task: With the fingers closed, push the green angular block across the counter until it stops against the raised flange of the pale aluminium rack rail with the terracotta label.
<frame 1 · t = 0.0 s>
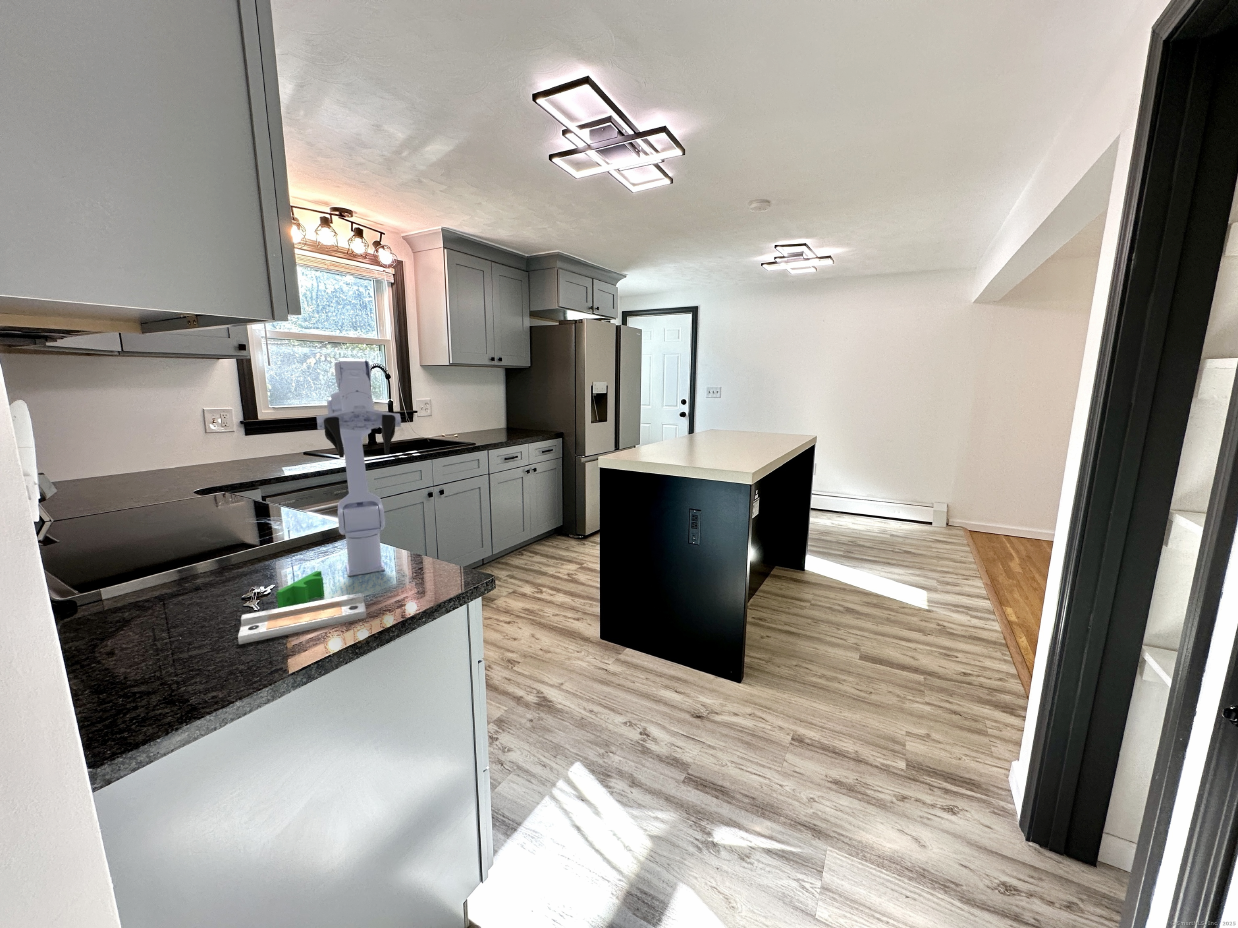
hand: (364, 452, 94), 32 cm above the countertop, tool tilted 50°, fingers open, 7 cm apart
rack rail: (306, 617, 98), on the countertop
green angular block: (306, 602, 105), on the countertop
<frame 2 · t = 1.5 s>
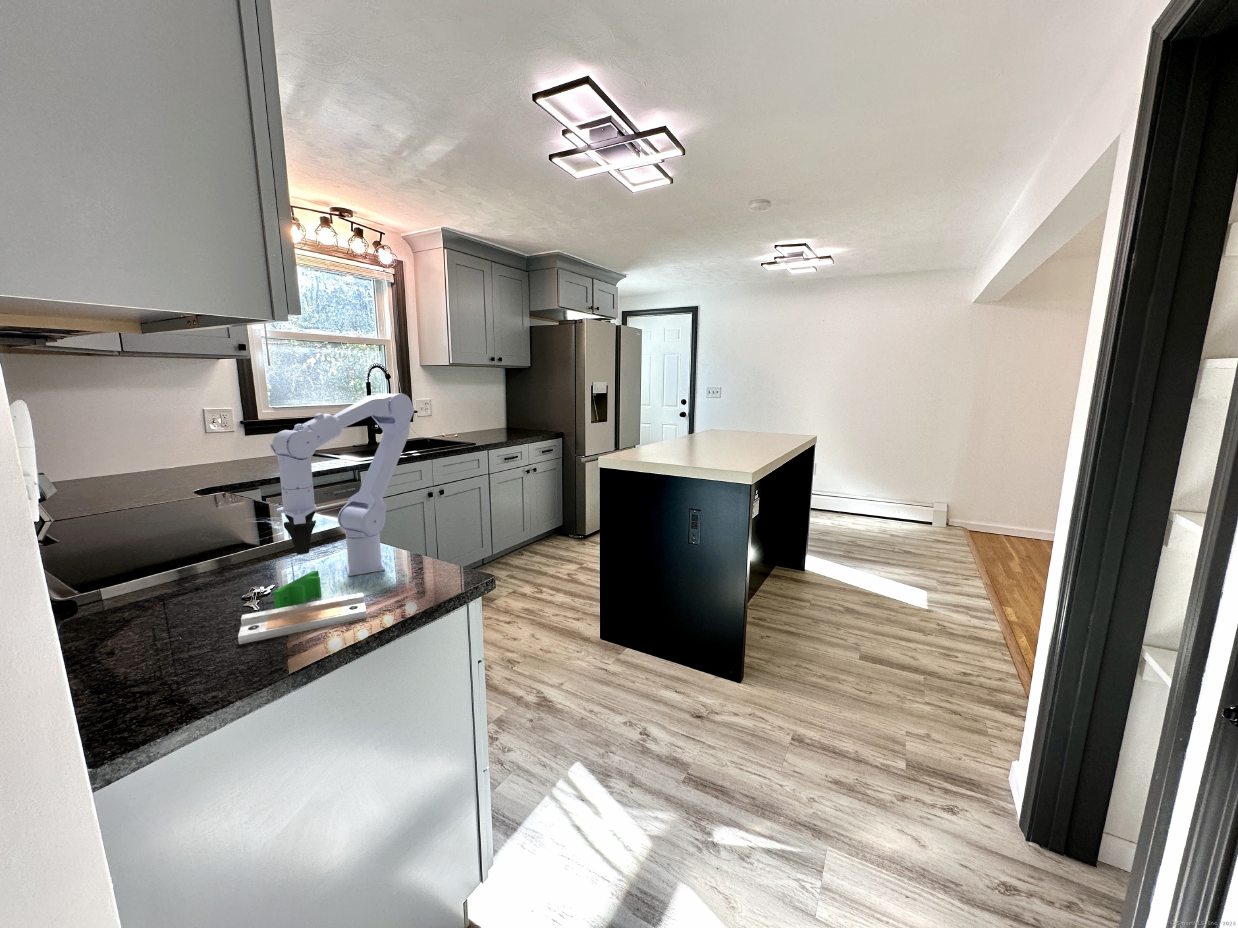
hand: (303, 548, 109), 10 cm above the countertop, tool pointing down, fingers open, 7 cm apart
nothing on the countertop moved.
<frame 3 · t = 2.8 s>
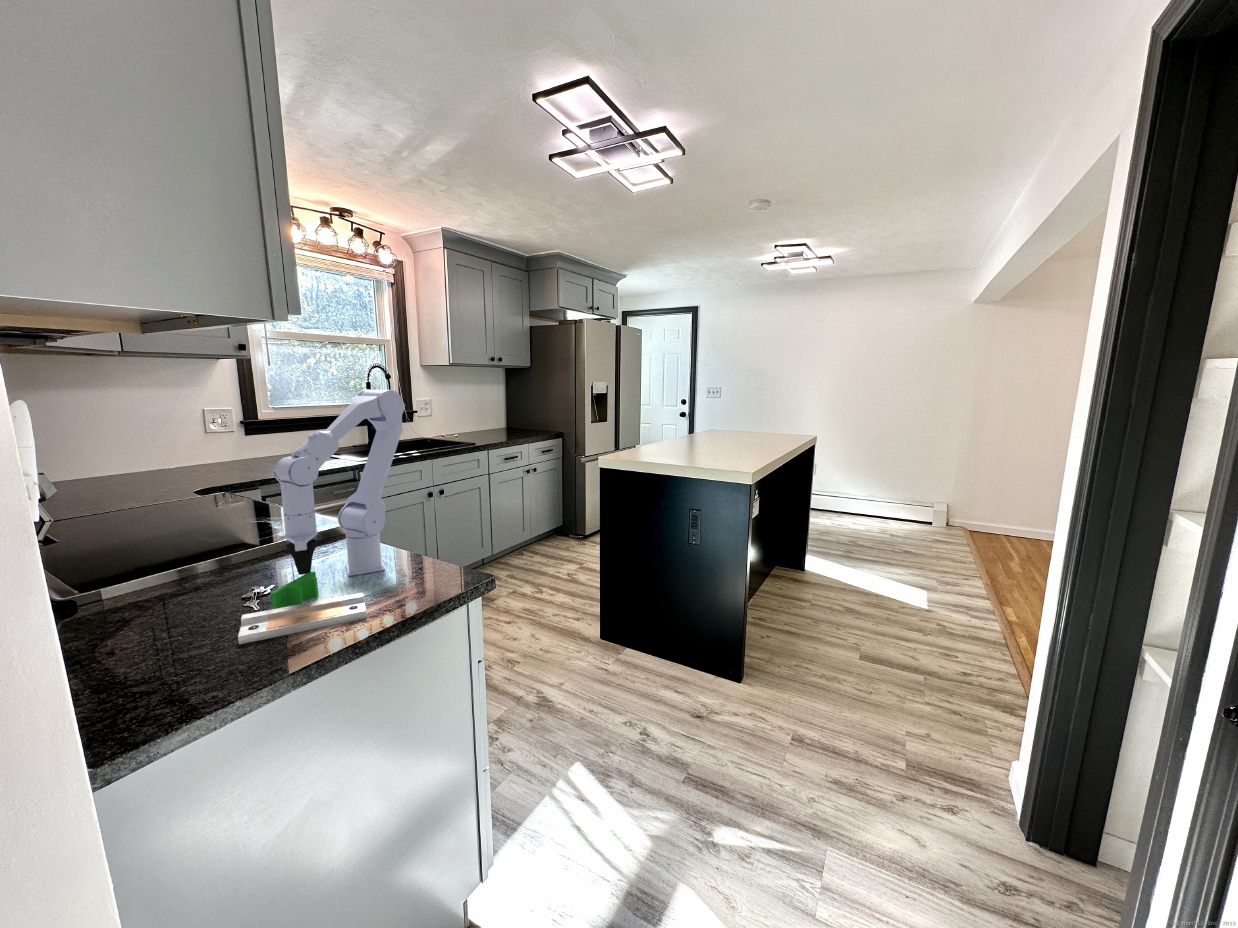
hand: (304, 573, 110), 4 cm above the countertop, tool pointing down, fingers closed
green angular block: (301, 603, 105), on the countertop, touching gripper
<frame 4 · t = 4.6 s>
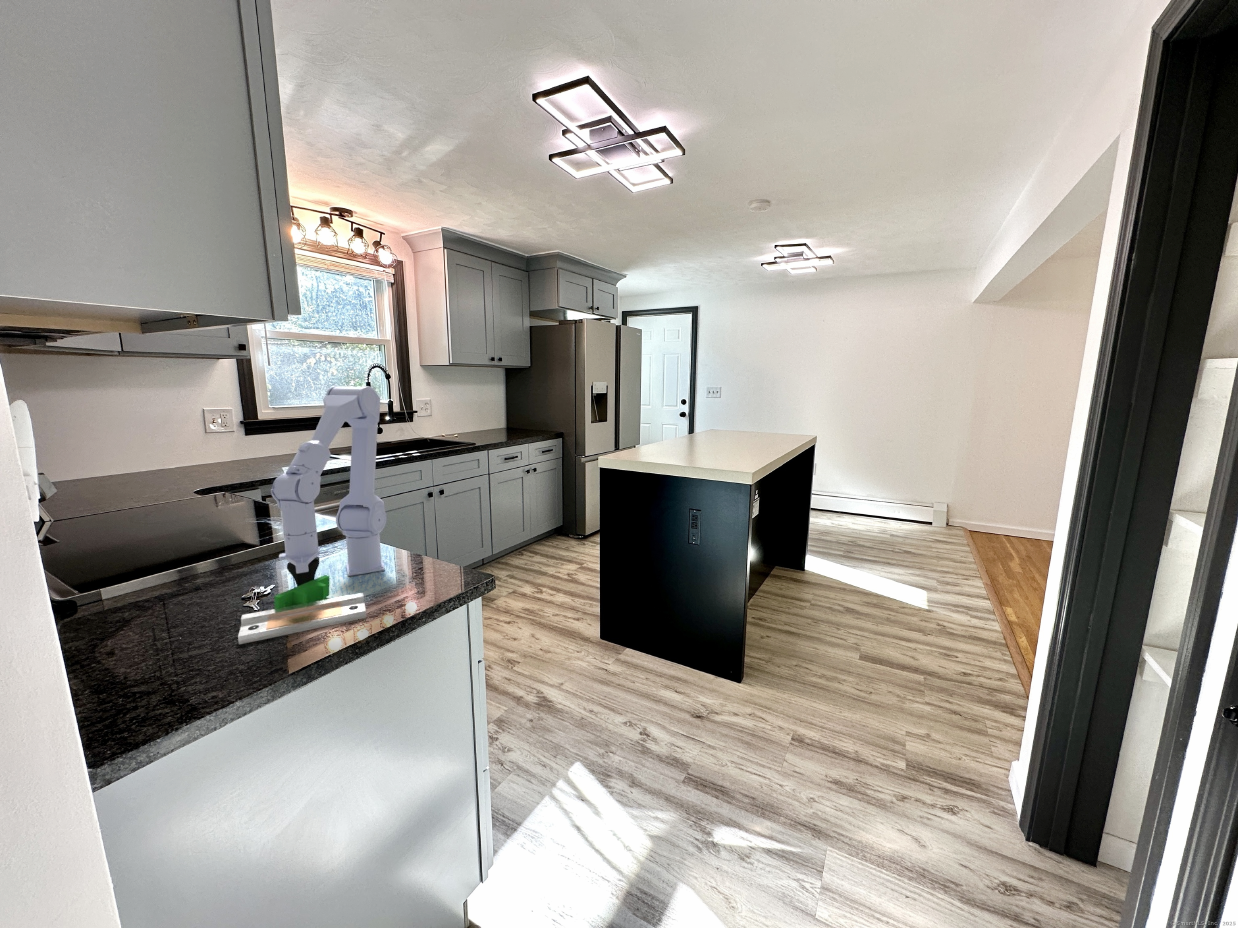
hand: (306, 594, 105), 1 cm above the countertop, tool pointing down, fingers closed
green angular block: (307, 608, 101), on the countertop, touching gripper, rack rail
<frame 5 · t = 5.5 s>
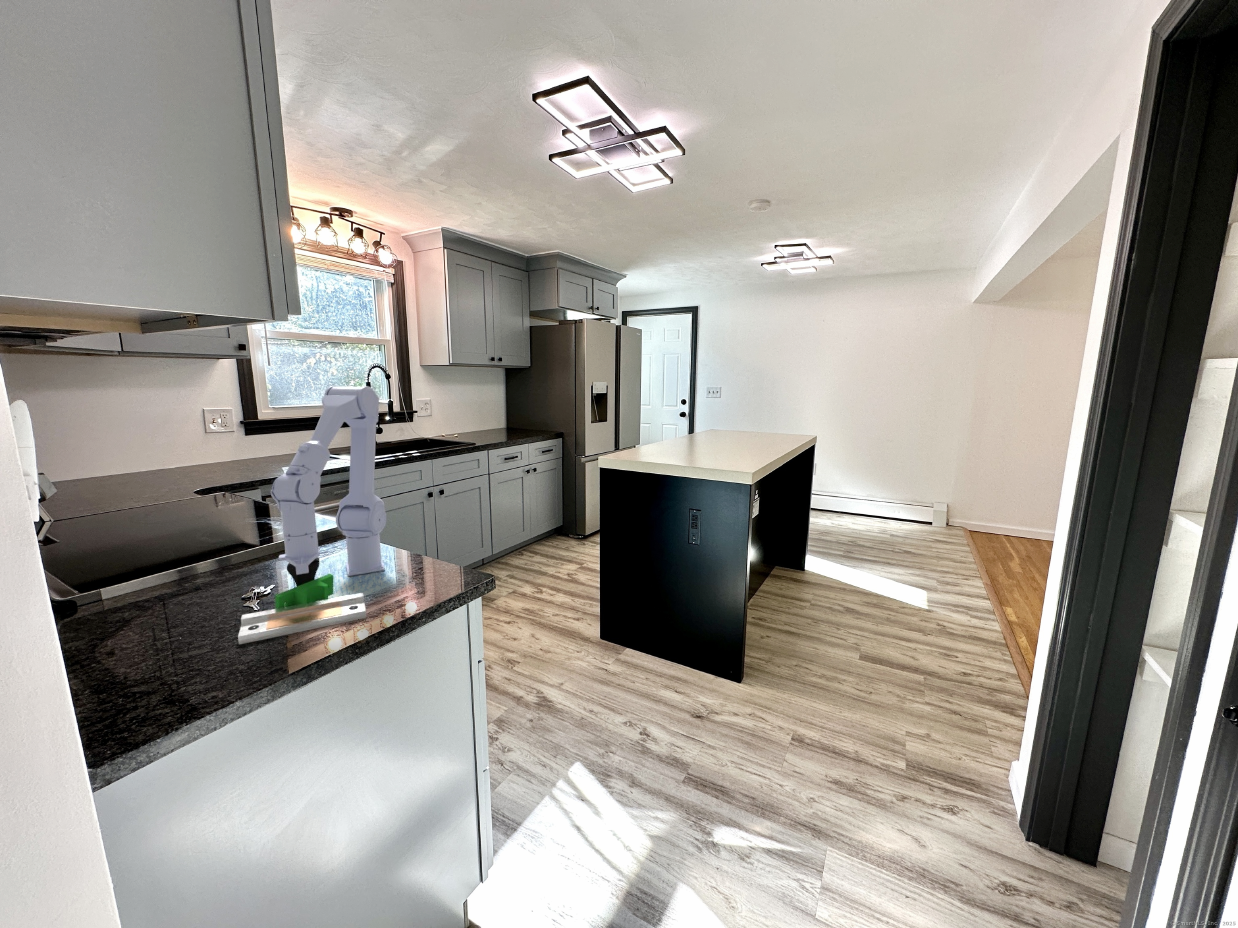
hand: (306, 595, 104), 1 cm above the countertop, tool pointing down, fingers closed
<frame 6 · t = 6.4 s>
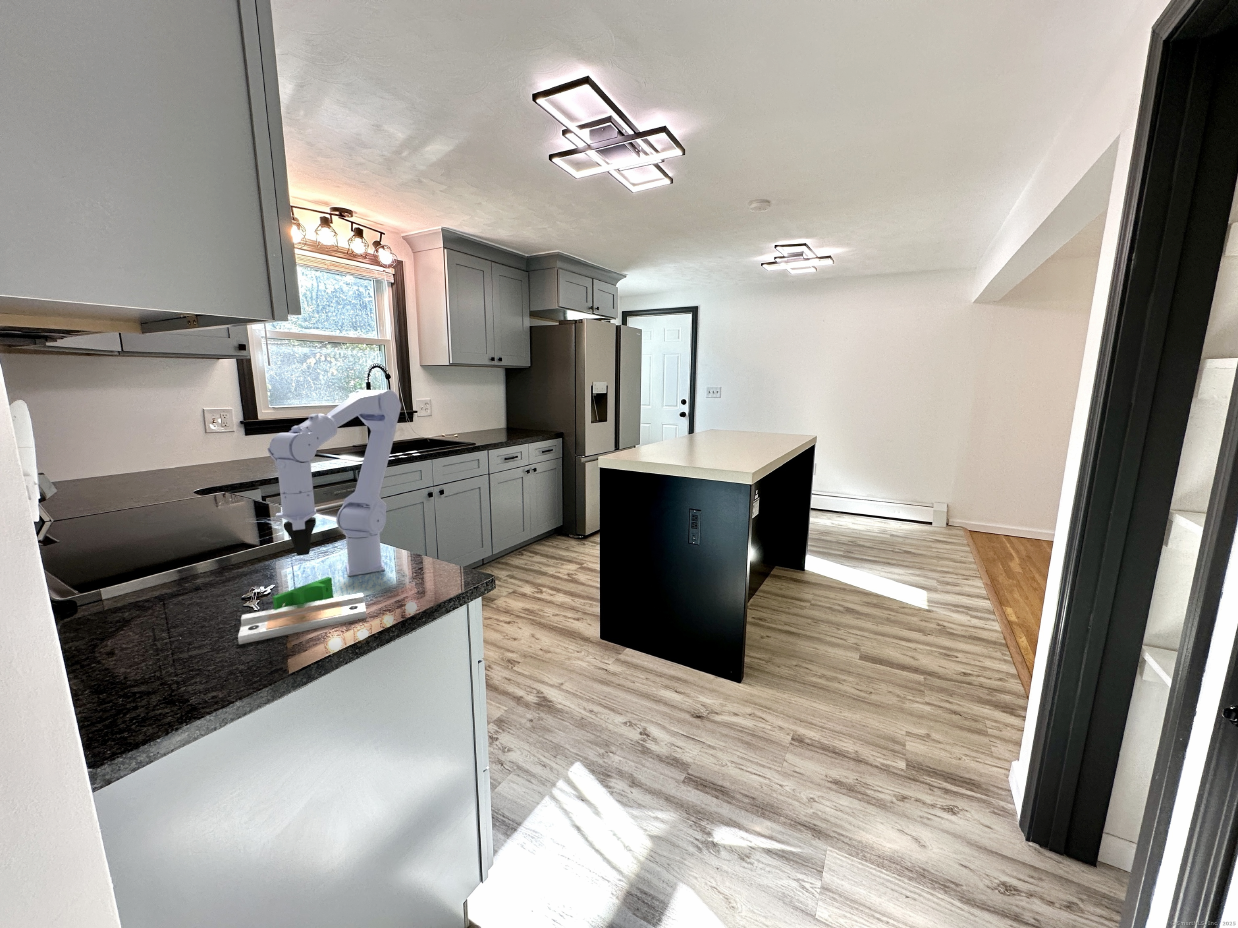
hand: (303, 554, 106), 9 cm above the countertop, tool pointing down, fingers closed
green angular block: (308, 609, 102), on the countertop
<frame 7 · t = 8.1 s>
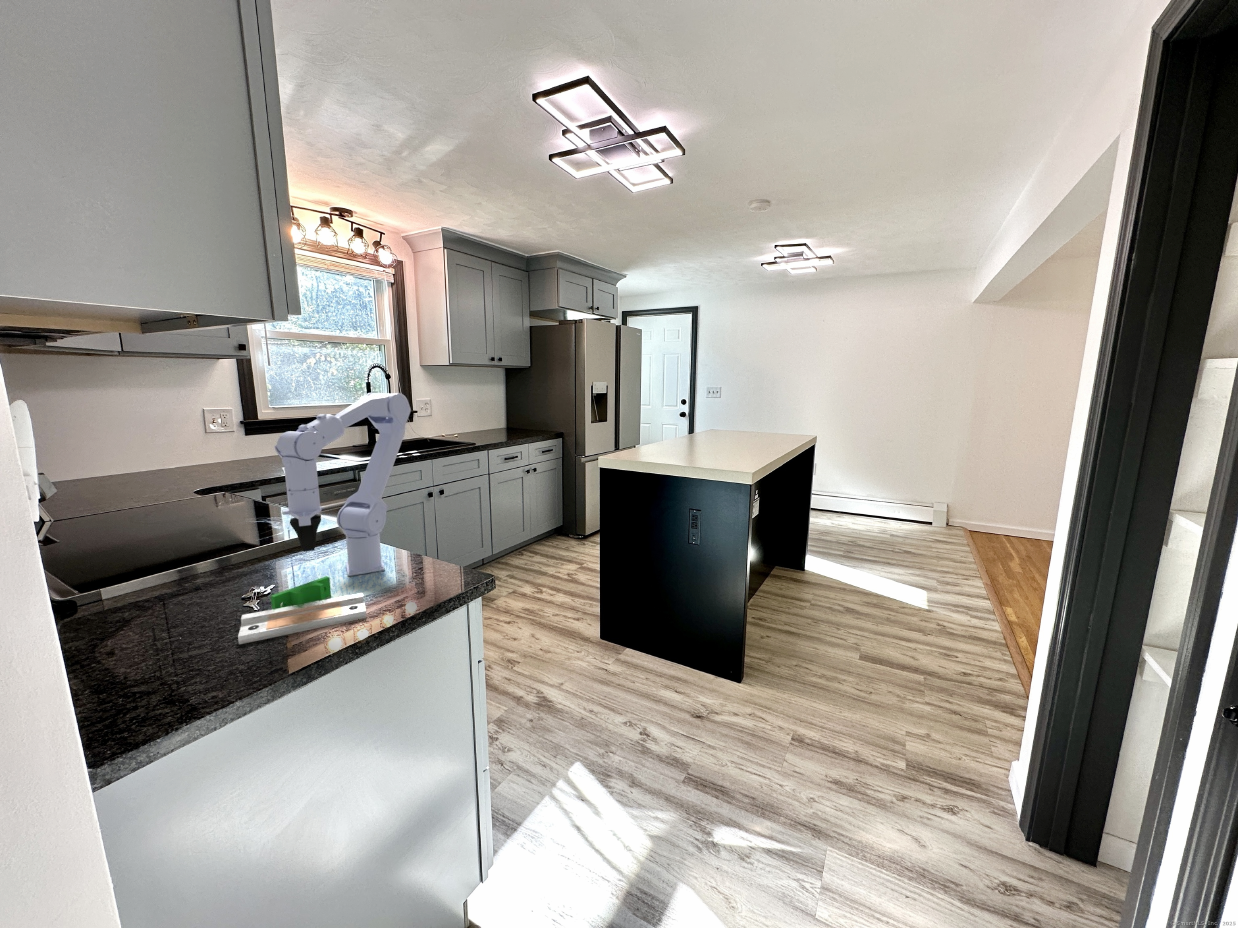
hand: (308, 549, 108), 9 cm above the countertop, tool pointing down, fingers closed
nothing on the countertop moved.
at the end: green angular block inside the target area on the rack rail (0.4 cm from its centre), point 0.0 cm above the rack rail's base; green angular block moved 3.4 cm from its start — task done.
